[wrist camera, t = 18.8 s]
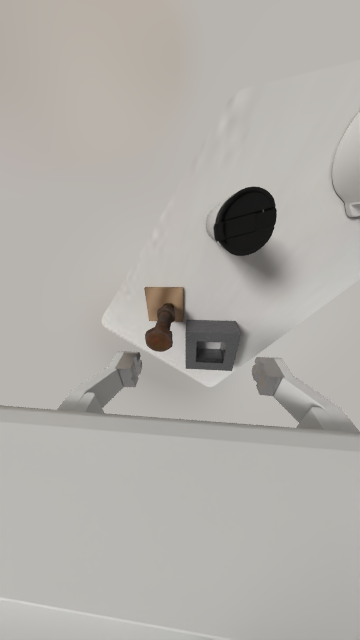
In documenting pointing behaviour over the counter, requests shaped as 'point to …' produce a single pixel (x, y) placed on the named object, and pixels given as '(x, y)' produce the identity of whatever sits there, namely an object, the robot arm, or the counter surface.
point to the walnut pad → (164, 301)
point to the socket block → (211, 333)
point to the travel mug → (243, 221)
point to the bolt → (161, 329)
